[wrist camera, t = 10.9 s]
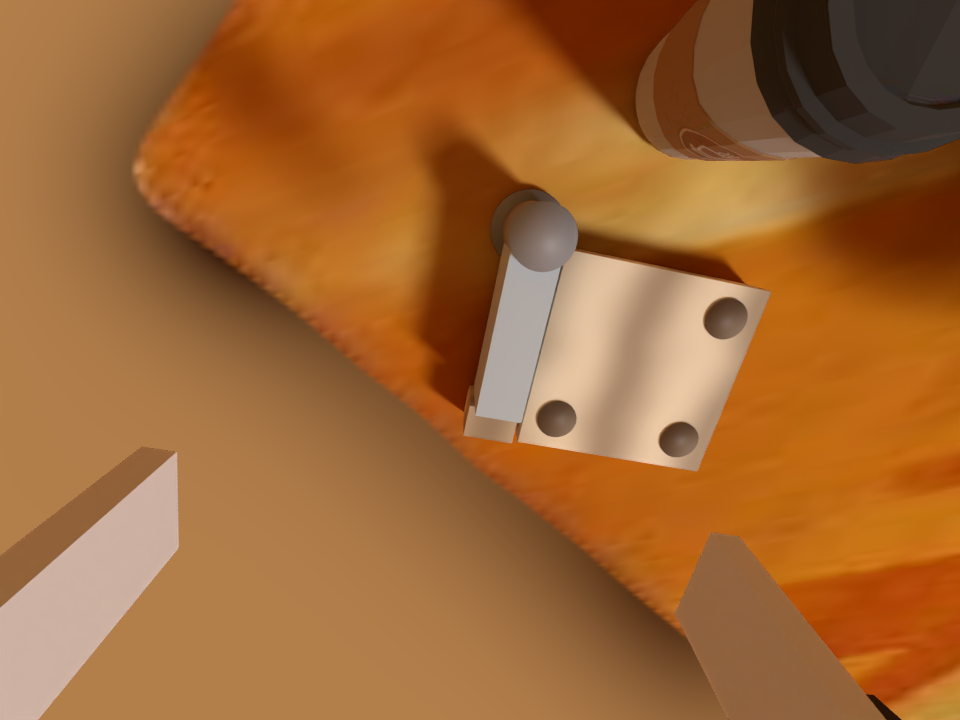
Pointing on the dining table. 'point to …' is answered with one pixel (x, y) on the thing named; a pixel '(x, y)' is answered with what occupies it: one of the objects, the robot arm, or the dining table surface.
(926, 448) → the dining table surface
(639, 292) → the seat panel
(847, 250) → the dining table surface
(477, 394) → the leg bar
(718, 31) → the coffee cup
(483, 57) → the dining table surface
